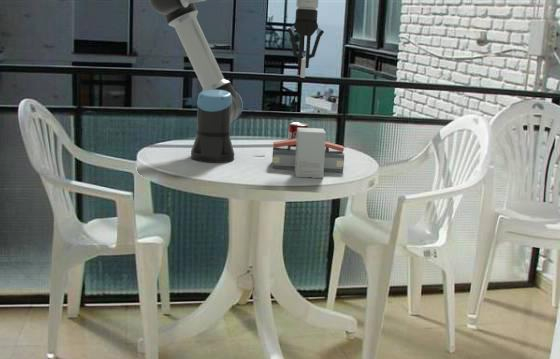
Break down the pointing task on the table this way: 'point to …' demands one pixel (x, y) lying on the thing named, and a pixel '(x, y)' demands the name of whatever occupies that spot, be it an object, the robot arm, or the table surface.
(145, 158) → the table surface
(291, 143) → the left rocker
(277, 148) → the switch unit
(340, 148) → the right rocker
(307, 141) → the supplement box
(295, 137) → the soda can
